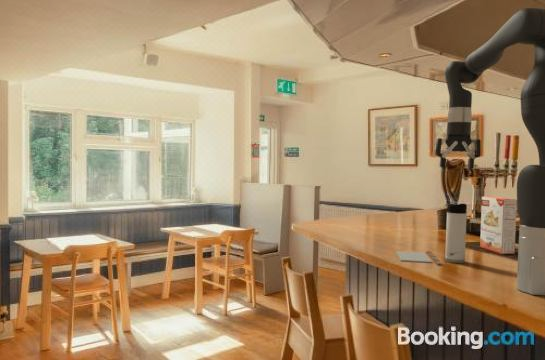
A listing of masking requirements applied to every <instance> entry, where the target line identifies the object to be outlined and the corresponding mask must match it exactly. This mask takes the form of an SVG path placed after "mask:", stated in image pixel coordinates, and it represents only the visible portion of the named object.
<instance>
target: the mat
mask: <svg viewBox="0 0 545 360" xmlns="http://www.w3.org/2000/svg"><path fill="white" fill-rule="evenodd" d="M395 253H396V255H397V256H398V259H399V260H400V262H412V263H424V264H425V263H427V264H432V263H433V262H432V261H433V260H432V259H430V258H429V257H428V256H427V255H428V254H427V253H426V252H419V251H418V252H417V251H403V250H401V251H399V250H398V251H397V250H396V252H395Z"/></svg>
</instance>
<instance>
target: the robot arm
mask: <svg viewBox="0 0 545 360" xmlns="http://www.w3.org/2000/svg"><path fill="white" fill-rule="evenodd" d="M517 44H522V45H529V46H531V45H532V46H533V49H534V64H533V67H532V70H531V72H530V74H529V75H528V77H527V78H526V80H525V83H524V85H523V86H522V88H521V91H520V111H521V113H520V116H521V119H522V121H523V124H524V126H525V128H526V129H527V131H528V133H529V134H530V137H531V138H532V139H533V142H534V143H535V145H536V149H537V153H538V162H539V164H529V165H526V166H524V167H522V169H521V170H520V172H519V173H518V176H517V181H516V200H517V210H516V213H517V214H518V218H519V230H518V231H519V232H518V233H519V234H518V251H517V252H518V253H517V254H518V255H517V272H516V273H517V274H516V277H517V279H516V289H517V290H518V291H520V292H523V293H527V294H530V295H535V296H545V8H537V7H525V8H522V9H520V10H518V11H517V12H516V13H514V14H513V15H512V16H511V17H510V18H509V19H508V20H507V21H506V22H505V23H504V24H503V25H502V26H501V27H500V28H499V29H498V30H497V31H496V33H494V35H492V37H491V38H489V40H487V41H486V42H485V43H484V44H481V46H479V47H478V48H477V49H475V50H473V51H472V52H471V53H469V55H467V57H466V58H465V61H463V60H462V61H461V60H460V61H459V60H454V61H453V60H452V61H451V62H449V63H448V64H447V65H446V67H445V71H444V72H445V74H444V77H445V78H444V79H445V82H446V86H447V91H448V96H449V98H448V100H449V101H448V102H449V103H448V113H447V119H446V121H447V123H446V125H447V126H446V138H436V142H435V149H434V155H435V157H436V156H437V157H439V158H440V160H439V163H440V164H439V167H440V168H441V169H442V170H445V169H446V168H447V167H446V164H447V156H448V154H450V153H451V152H455V153H456V152H461V153H463V152H464V153H465V154H466V156H467V157H468V159H467V170H468V171H472V170H473V169H474V167H475V159H476V158H480V157H481V154H482V150H481V149H482V148H481V147H482V146H481V145H482V144H481V142H482V141H481V139H479V138H477V139H472V138H471V137H472V136H471V134H472V117H473V115H472V113H473V112H472V103H473V94H472V91H471V90H468V89H466V88H464V87H463V85H462V84H472V83H474V82H476V81H477V80H478V79H479V78H480V77H481V76H482V75H483V73H484V72H485V71H487V70H488V69H490V68H491V67H493V66H495V65H496V64H497V63H499V61H500V60H501V58H502V57H503V55H504V52H505V50H506V49H507V48H509V47H511V46H514V45H517ZM444 143H445V145H446V146H447V147H446V148H445V149H444V150H443V152H441V151H442V145H444ZM471 144H472V146H474V153H473V151H472V149H471V148H470V145H471Z"/></svg>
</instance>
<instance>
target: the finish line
mask: <svg viewBox="0 0 545 360" xmlns="http://www.w3.org/2000/svg"><path fill="white" fill-rule="evenodd" d="M425 254H426V255H428V256H429V257H430V258H431V259H430V260H431V261H433V262H434V263H435V264H436V266H443V262H442V261H441V260H440V259H439V258H438V257H437V256H436V255H435V254H434V253H433V252H432V251H431V250H426V251H425Z"/></svg>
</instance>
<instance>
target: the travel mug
mask: <svg viewBox="0 0 545 360" xmlns="http://www.w3.org/2000/svg"><path fill="white" fill-rule="evenodd" d="M446 206H447V208H446V209H447V210H446V225H445V226H446V229H445V230H446V231H445V253H444V255H445V256H444V260H445V262H448V263H451V264H452V263H453V264H454V263H455V264H464V263H465V261H466V258H465V257H466V239H467V237H466V236H467V219H468V218H467V215H468V213H467V212H468V211H467V208H468V204H466V203H459V204H447V205H446Z"/></svg>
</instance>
